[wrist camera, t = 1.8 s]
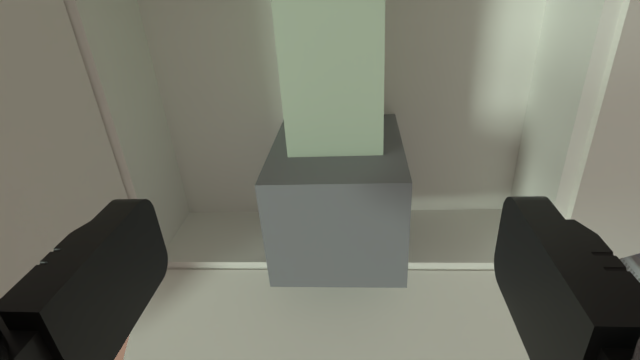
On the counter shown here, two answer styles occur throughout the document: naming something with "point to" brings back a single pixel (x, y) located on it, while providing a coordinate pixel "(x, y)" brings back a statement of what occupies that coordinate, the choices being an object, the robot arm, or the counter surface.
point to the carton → (258, 137)
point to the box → (334, 153)
